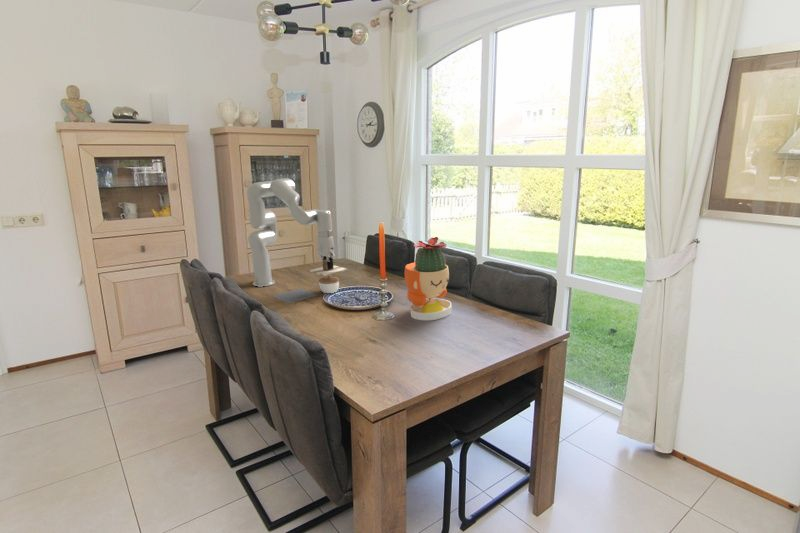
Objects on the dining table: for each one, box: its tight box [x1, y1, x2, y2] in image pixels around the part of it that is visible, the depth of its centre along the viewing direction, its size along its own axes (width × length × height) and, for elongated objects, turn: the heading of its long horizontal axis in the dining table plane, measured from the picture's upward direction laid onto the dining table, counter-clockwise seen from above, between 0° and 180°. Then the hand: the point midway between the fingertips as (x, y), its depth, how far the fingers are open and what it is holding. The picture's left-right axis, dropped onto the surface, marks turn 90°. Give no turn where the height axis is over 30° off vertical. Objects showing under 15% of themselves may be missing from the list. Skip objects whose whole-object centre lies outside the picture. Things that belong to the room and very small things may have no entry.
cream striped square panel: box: [272, 288, 319, 305], centre depth 243 cm, size 18×18×1 cm
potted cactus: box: [403, 236, 452, 321], centre depth 209 cm, size 22×22×35 cm
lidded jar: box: [318, 275, 340, 294], centre depth 245 cm, size 11×11×9 cm
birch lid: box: [308, 259, 349, 277], centre depth 243 cm, size 15×15×6 cm
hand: (328, 267), depth 243 cm, fingers closed on birch lid, 4 cm apart
